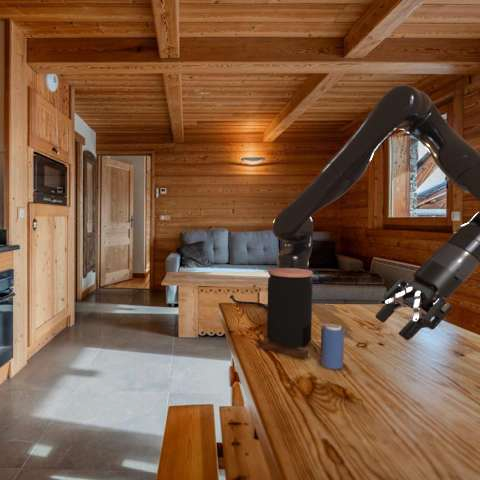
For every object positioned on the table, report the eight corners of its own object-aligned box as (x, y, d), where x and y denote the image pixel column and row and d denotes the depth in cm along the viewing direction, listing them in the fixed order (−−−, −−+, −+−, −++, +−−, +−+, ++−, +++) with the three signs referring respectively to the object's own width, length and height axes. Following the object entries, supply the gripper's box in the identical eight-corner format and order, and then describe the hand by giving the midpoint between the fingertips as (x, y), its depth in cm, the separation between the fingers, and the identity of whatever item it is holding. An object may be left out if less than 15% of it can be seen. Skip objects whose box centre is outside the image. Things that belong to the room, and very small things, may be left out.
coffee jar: (312, 338, 101) (314, 269, 100) (309, 350, 91) (311, 274, 90) (270, 332, 105) (271, 266, 104) (263, 344, 95) (264, 271, 94)
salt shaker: (317, 365, 82) (318, 325, 82) (325, 359, 85) (326, 321, 85) (338, 370, 79) (339, 329, 79) (346, 365, 82) (347, 325, 82)
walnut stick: (258, 347, 93) (259, 341, 93) (264, 345, 95) (264, 339, 95) (303, 359, 85) (303, 352, 85) (308, 356, 87) (308, 350, 87)
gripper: (410, 251, 86) (360, 305, 89) (459, 268, 72) (398, 333, 75) (433, 270, 87) (383, 324, 90) (486, 292, 73) (425, 354, 76)
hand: (390, 328), depth 82 cm, fingers open, 8 cm apart
